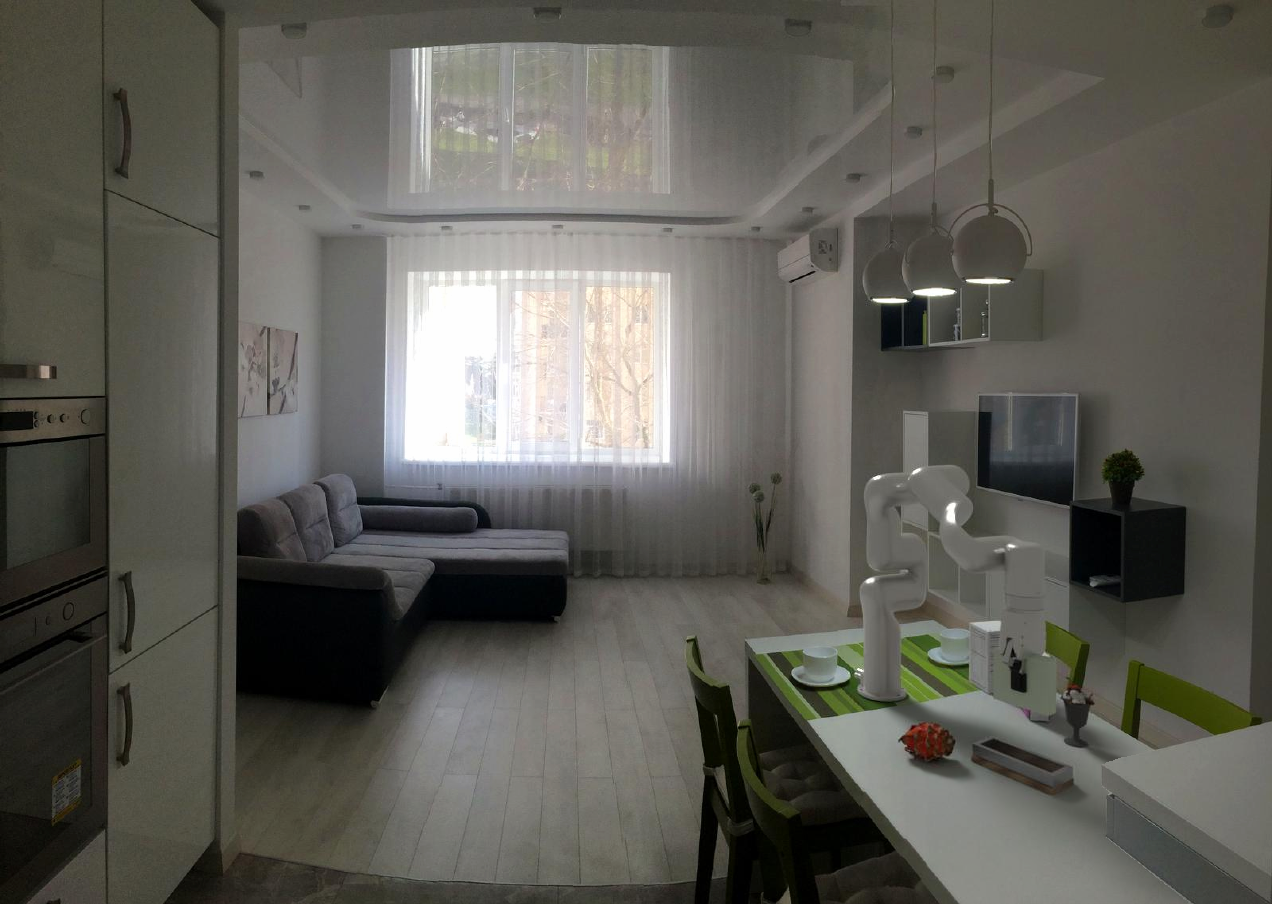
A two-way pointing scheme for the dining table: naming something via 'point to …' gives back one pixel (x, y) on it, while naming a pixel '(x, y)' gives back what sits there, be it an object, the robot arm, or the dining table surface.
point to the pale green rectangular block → (1038, 684)
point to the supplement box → (983, 653)
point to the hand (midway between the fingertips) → (1023, 688)
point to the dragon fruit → (928, 741)
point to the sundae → (1076, 712)
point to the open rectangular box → (1022, 764)
